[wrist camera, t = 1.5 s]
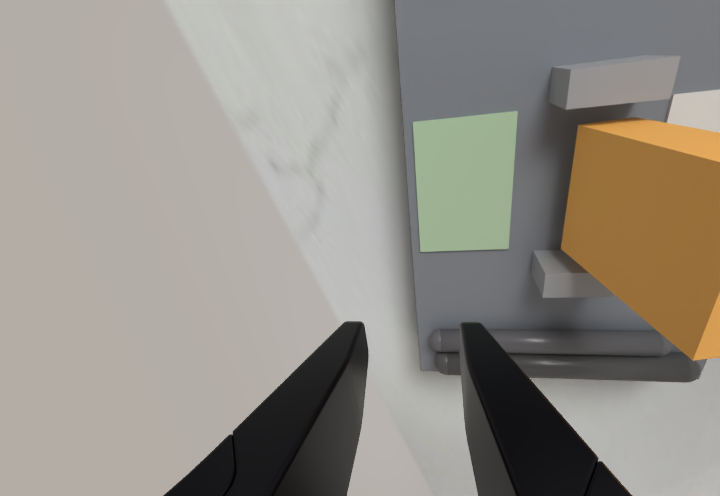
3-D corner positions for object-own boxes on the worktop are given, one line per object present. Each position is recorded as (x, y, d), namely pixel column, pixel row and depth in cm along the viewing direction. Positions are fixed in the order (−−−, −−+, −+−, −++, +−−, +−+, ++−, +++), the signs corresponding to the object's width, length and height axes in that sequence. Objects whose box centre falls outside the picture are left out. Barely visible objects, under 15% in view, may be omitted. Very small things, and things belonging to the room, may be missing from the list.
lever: (634, 116, 13) (867, 160, 7) (608, 242, 15) (769, 350, 9) (578, 124, 13) (765, 173, 7) (560, 248, 15) (693, 360, 9)
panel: (849, -216, 11) (1119, -384, 7) (665, 338, 21) (726, 413, 17) (392, -108, 14) (376, -180, 10) (421, 335, 24) (420, 399, 20)
